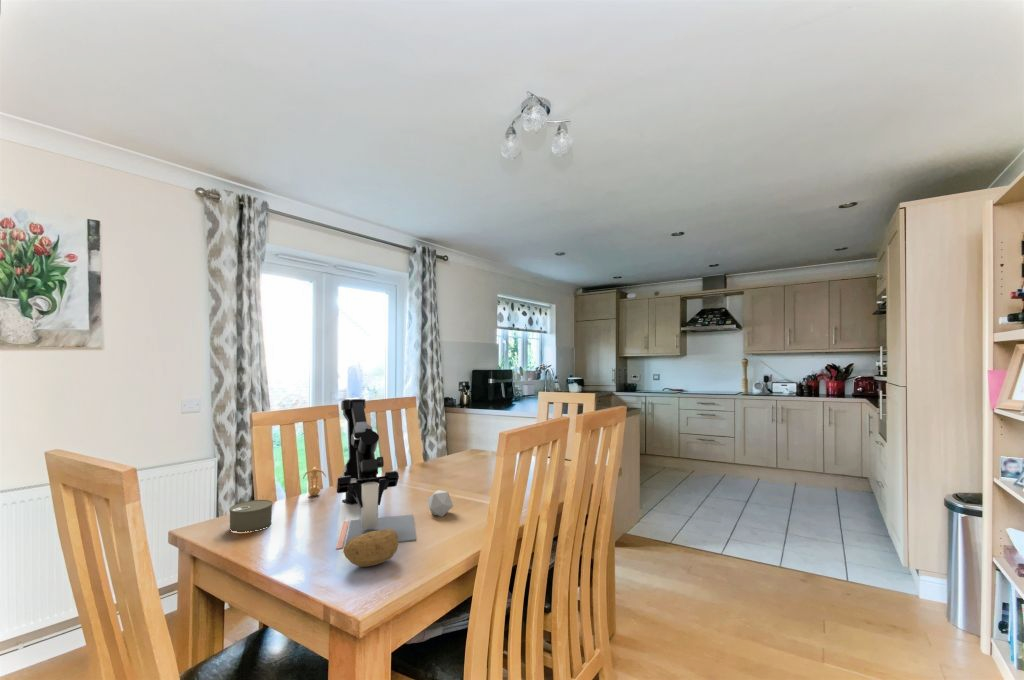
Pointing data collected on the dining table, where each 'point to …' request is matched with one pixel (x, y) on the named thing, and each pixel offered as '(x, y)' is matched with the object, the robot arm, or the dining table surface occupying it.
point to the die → (440, 503)
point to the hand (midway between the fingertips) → (370, 506)
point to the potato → (371, 548)
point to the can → (250, 515)
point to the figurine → (313, 489)
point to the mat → (387, 527)
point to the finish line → (342, 535)
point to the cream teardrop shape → (369, 505)
